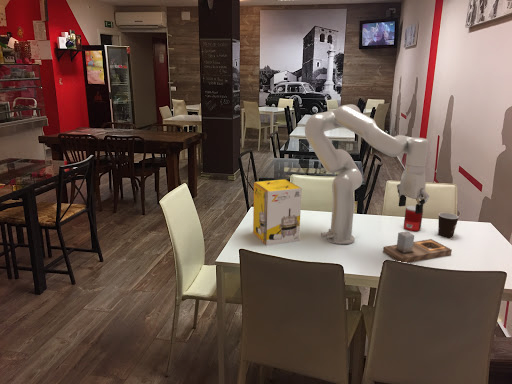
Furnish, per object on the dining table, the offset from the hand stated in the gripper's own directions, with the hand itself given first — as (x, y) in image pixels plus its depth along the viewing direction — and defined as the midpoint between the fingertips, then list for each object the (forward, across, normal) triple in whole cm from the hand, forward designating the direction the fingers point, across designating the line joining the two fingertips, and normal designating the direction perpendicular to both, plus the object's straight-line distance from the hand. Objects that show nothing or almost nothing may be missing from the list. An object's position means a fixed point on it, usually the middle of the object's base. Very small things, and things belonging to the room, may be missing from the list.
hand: (410, 209), depth 171 cm
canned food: (+21, -23, +25) cm, 40 cm away
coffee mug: (+21, -11, +36) cm, 43 cm away
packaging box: (+21, -38, -43) cm, 61 cm away
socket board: (+20, 0, +6) cm, 21 cm away
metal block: (+21, 0, -1) cm, 21 cm away
